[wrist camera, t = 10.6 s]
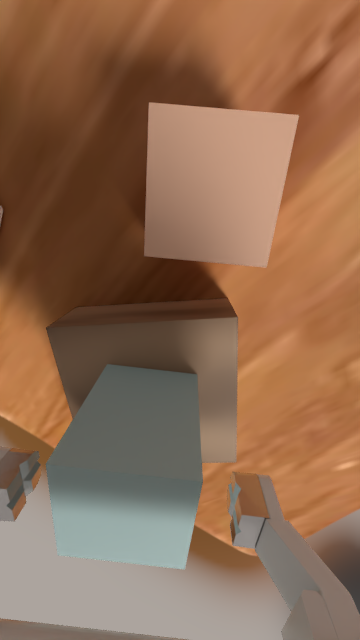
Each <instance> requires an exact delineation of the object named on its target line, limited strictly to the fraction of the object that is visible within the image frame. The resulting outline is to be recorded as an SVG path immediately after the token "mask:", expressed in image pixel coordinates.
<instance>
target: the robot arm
mask: <svg viewBox="0 0 360 640" xmlns="http://www.w3.org/2000/svg"><path fill="white" fill-rule="evenodd" d="M38 459H39V452H38V451H32V450H24V449H16V448H9V447H0V521H15V520H16V518H17V517H18V515H19V514H20V512H21V510H22V509H23V507H24V505H25V504H26V496H27V495H28V494H29V493H31V492H32V491H33V490H34V488H35V487H36V485H37V484H38V481H39V478H40V476H41V465H40V464H39V463H38V461H37V460H38ZM230 479H231V484H229V485H228V490H227V506H228V512H229V514H230V515H231V517H232V519H231V523H230V529H231V537H232V544H233V546H239V547H246V548H253V549H255V551H256V553H257V554H258V556H259V558H260V560H261V561H262V563H263V565H264V566H265V568H266V569H267V571H268V573H269V575H270V576H271V578H272V580H273V582H274V583H275V585H276V587H277V588H278V590H279V592H280V593H281V595H282V597H283V599H284V600H285V602H286V604H287V605H288V607H289V609H290V611H291V614H290V616H289V618H288V620H287V622H286V623H285V626H284V627H283V629H282V631H281V632H282V636H283V640H360V615H359V613H358V611H357V608H356V606H355V604H354V601H353V599H352V597H351V595H350V593H349V592H348V591H347V589H346V588H345V587H344V586H343V585H342V584H341V582H340V581H339V580H338V579H337V578H336V576H335V575H334V574H333V573H332V572H331V571H330V569H329V568H328V567H327V566H326V565H325V564H324V562H323V561H322V560H321V559H320V558H319V556H318V555H317V554H316V553H315V552H314V551H313V549H312V548H311V547H310V546H309V545H308V543H307V542H306V541H305V540H304V539H303V538H302V536H301V535H300V534H299V533H298V532H297V530H296V529H295V528H294V527H293V526H292V525H291V523H290V522H289V521H285V520H284V517H283V514H282V511H281V508H280V505H279V502H278V499H277V496H276V492H275V489H274V486H273V483H272V480H271V478H270V477H269V476H268V475H258V474H252V473H240V472H232V473H231V477H230ZM0 640H187V639H178V638H169V637H160V636H151V635H143V634H134V633H125V632H116V631H107V630H98V629H89V628H80V627H72V626H63V625H54V624H45V623H36V622H27V621H18V620H9V619H1V618H0Z"/></svg>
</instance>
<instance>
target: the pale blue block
mask: <svg viewBox="0 0 360 640" xmlns="http://www.w3.org/2000/svg"><path fill="white" fill-rule="evenodd" d="M46 470H47V477H48V485H49V492H50V500H51V507H52V515H53V523H54V530H55V538H56V545H57V553H58V555H61V556H69V557H79V558H87V559H96V560H105V561H114V562H124V563H132V564H141V565H150V566H159V567H169V568H177V569H185V566H186V561H187V556H188V551H189V546H190V541H191V536H192V531H193V527H194V522H195V517H196V512H197V507H198V503H199V498H200V493H201V488H202V483H203V477H202V457H201V438H200V418H199V399H198V379H197V374H190V373H181V372H172V371H163V370H155V369H146V368H137V367H128V366H120V365H111V364H107V365H106V367H105V368H104V370H103V372H102V373H101V375H100V377H99V378H98V380H97V381H96V383H95V385H94V386H93V388H92V390H91V391H90V393H89V394H88V396H87V398H86V399H85V401H84V403H83V404H82V406H81V408H80V409H79V411H78V412H77V414H76V416H75V417H74V419H73V421H72V422H71V424H70V425H69V427H68V429H67V430H66V432H65V434H64V435H63V437H62V438H61V440H60V442H59V443H58V445H57V447H56V448H55V450H54V452H53V453H52V455H51V456H50V458H49V460H48V461H47V463H46Z"/></svg>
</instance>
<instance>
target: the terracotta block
mask: <svg viewBox="0 0 360 640" xmlns="http://www.w3.org/2000/svg"><path fill="white" fill-rule="evenodd" d="M298 118H299V115H292V114H280V113H268V112H257V111H245V110H233V109H221V108H210V107H198V106H186V105H174V104H163V103H151V102H149V113H148V146H147V179H146V211H145V244H144V256H148V257H158V258H169V259H180V260H191V261H201V262H212V263H223V264H234V265H244V266H255V267H266V268H267V263H268V259H269V254H270V249H271V244H272V240H273V235H274V230H275V226H276V221H277V216H278V212H279V207H280V202H281V197H282V193H283V188H284V183H285V179H286V174H287V169H288V165H289V160H290V155H291V150H292V146H293V141H294V136H295V132H296V127H297V122H298Z"/></svg>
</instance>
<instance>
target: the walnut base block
mask: <svg viewBox="0 0 360 640" xmlns="http://www.w3.org/2000/svg"><path fill="white" fill-rule="evenodd" d="M46 330H47V333H48V337H49V340H50V343H51V347H52V350H53V353H54V357H55V360H56V364H57V367H58V370H59V374H60V377H61V381H62V384H63V387H64V391H65V394H66V398H67V401H68V404H69V408H70V411H71V415H72V418H73V419H74V417H75V416H76V414H77V412H78V411H79V409H80V408H81V406H82V404H83V403H84V401H85V399H86V398H87V396H88V394H89V393H90V391H91V390H92V388H93V386H94V385H95V383H96V381H97V380H98V378H99V377H100V375H101V373H102V372H103V370H104V368H105V367H106V365H107V364H111V365H120V366H128V367H137V368H146V369H155V370H163V371H172V372H181V373H190V374H197V379H198V399H199V418H200V438H201V457H202V463H221V462H236V443H237V353H238V317H237V315H236V313H235V311H234V309H233V307H232V305H231V303H230V302H229V300H228V298H220V299H204V300H187V301H171V302H154V303H137V304H121V305H104V306H87V307H76V308H74V309H73V310H71V311H70V312H69V313H67V314H66V315H64V316H63V317H61V318H60V319H58V320H57V321H55V322H54V323H52V324H51V325H49V326H48V327H46Z"/></svg>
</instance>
